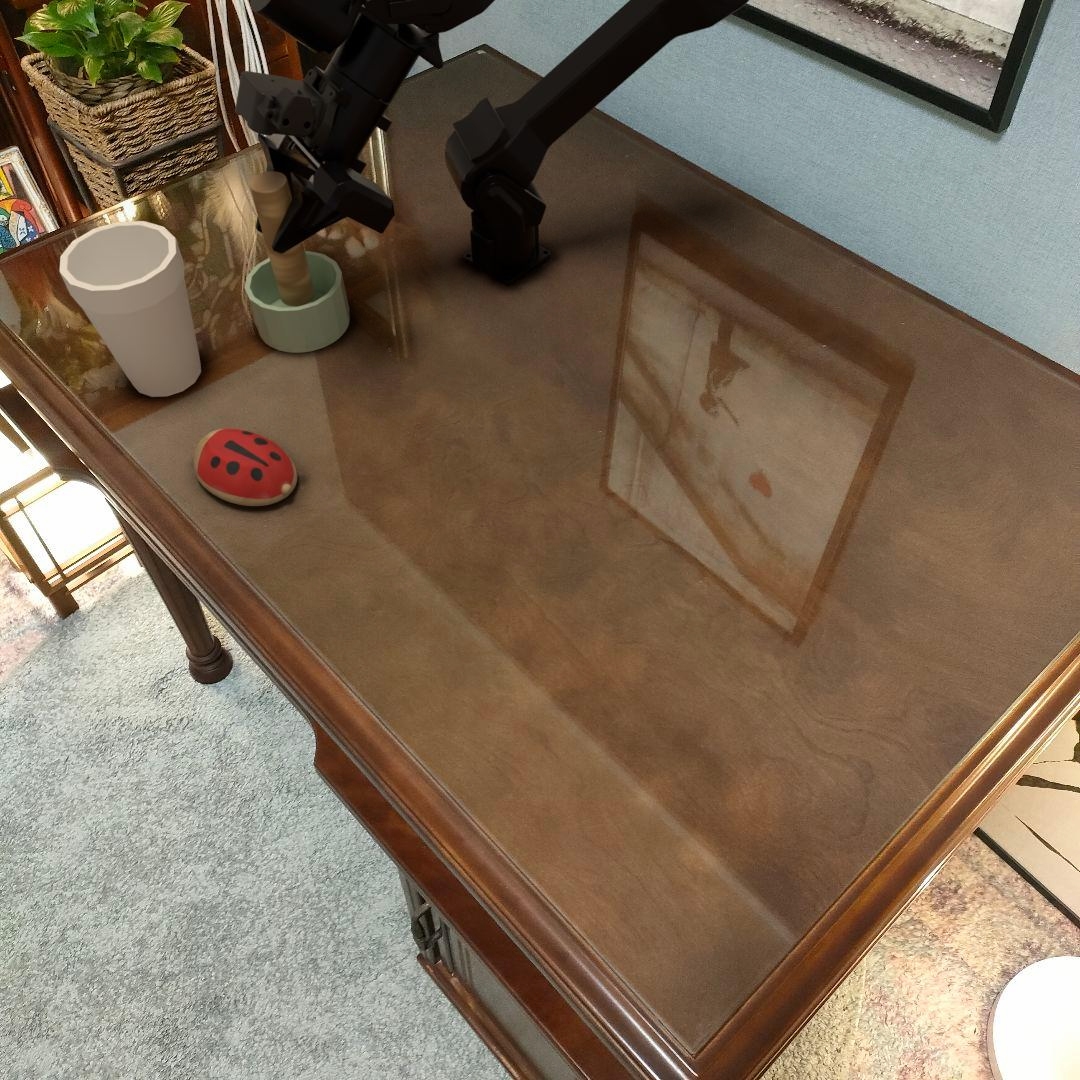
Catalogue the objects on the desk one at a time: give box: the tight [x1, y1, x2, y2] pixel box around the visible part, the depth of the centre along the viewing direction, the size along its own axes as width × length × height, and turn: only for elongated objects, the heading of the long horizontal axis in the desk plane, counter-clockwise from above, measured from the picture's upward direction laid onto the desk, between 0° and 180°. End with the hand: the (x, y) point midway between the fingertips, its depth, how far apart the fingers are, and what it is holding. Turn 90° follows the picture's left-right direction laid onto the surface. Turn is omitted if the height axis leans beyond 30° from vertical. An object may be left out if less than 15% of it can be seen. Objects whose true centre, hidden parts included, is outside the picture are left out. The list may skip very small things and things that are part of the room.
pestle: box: [248, 171, 315, 306], centre depth 91 cm, size 3×3×12 cm
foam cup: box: [59, 220, 202, 398], centre depth 89 cm, size 10×9×13 cm
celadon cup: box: [244, 250, 351, 354], centre depth 96 cm, size 9×9×5 cm
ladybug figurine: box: [193, 428, 298, 507], centre depth 84 cm, size 7×10×4 cm
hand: (268, 241), depth 90 cm, fingers closed on pestle, 3 cm apart
